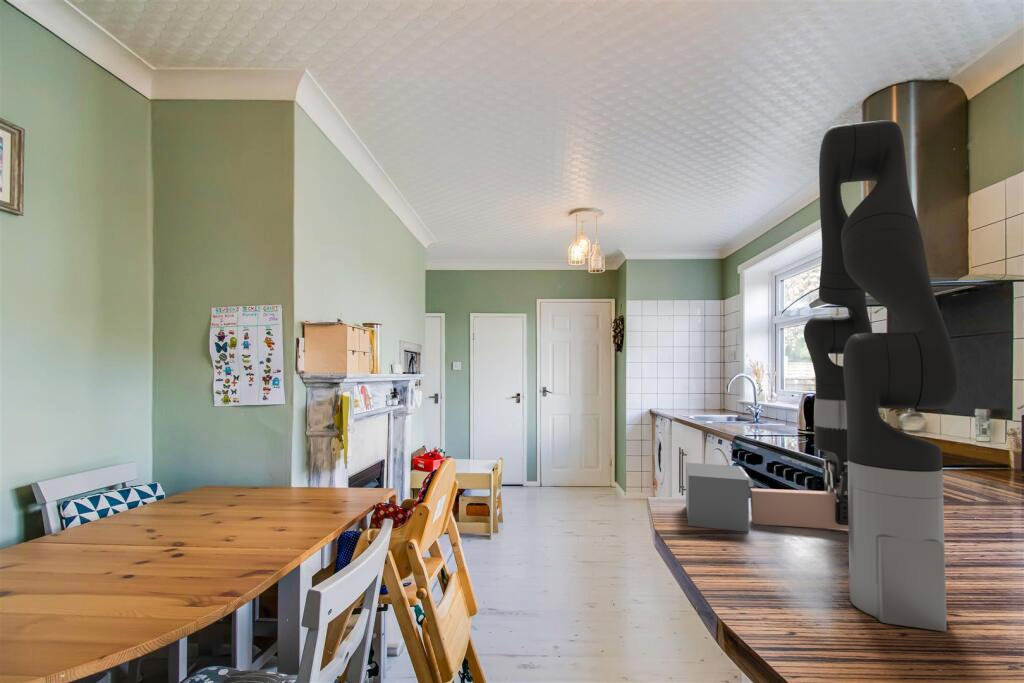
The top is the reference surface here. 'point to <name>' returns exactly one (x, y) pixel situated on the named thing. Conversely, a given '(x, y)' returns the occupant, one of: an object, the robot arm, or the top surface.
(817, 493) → the tan rectangular block
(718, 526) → the grey bevelled box
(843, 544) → the top surface
